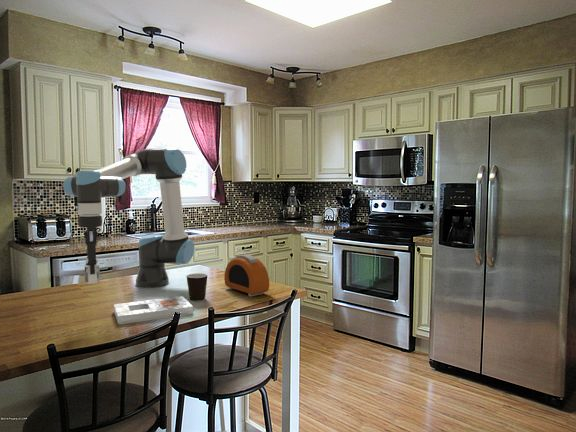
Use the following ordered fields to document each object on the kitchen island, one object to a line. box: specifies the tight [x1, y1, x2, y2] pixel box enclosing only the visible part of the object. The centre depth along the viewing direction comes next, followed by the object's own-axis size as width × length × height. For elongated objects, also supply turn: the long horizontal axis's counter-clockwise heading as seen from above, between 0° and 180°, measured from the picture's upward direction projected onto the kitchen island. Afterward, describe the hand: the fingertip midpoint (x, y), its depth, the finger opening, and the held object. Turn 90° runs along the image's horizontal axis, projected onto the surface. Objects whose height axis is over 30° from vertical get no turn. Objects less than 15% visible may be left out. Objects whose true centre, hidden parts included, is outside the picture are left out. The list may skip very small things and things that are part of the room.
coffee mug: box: [186, 273, 208, 302], centre depth 179 cm, size 12×9×10 cm
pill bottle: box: [84, 257, 101, 285], centre depth 148 cm, size 5×5×8 cm
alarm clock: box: [224, 254, 270, 297], centre depth 190 cm, size 23×9×17 cm, turn 41°
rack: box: [113, 295, 194, 326], centre depth 158 cm, size 16×26×3 cm, turn 118°
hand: (92, 281), depth 148 cm, fingers closed on pill bottle, 5 cm apart
